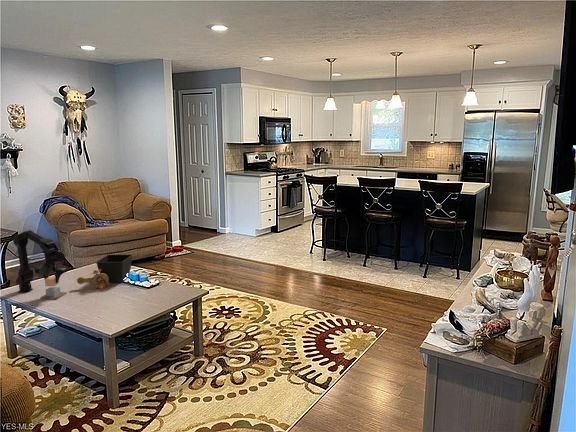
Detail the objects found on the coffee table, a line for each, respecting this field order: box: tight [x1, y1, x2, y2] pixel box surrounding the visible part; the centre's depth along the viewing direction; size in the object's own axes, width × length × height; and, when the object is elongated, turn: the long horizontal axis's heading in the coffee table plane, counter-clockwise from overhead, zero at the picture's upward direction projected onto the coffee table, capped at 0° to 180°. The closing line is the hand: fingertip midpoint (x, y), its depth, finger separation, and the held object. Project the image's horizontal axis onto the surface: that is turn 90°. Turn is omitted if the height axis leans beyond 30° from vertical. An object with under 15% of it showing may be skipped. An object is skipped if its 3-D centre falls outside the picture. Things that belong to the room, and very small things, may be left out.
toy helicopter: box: [76, 269, 110, 291], centre depth 296 cm, size 8×21×14 cm, turn 95°
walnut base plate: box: [39, 291, 67, 301], centre depth 282 cm, size 11×11×1 cm
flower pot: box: [95, 254, 133, 284], centre depth 312 cm, size 19×19×17 cm
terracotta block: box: [44, 275, 60, 287], centre depth 280 cm, size 6×6×4 cm
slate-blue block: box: [45, 286, 62, 297], centre depth 281 cm, size 6×6×4 cm
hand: (52, 283), depth 280 cm, fingers closed on terracotta block, 6 cm apart
